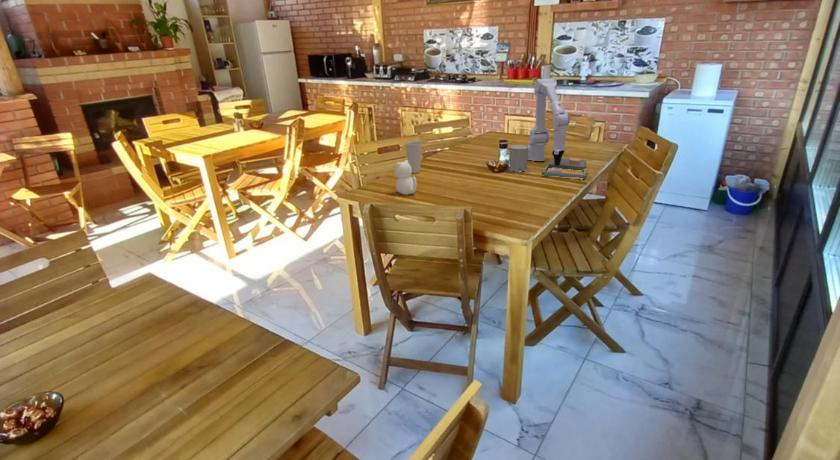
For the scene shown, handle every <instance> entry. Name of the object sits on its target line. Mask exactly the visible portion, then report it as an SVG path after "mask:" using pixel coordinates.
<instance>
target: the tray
mask: <svg viewBox="0 0 840 460" xmlns="http://www.w3.org/2000/svg"><path fill="white" fill-rule="evenodd" d="M548 168H549V164H547V165H546V166H544V168H543V170H542V171H541V176H542V175H544V176H559V177H579V178H584V177H585V178H586V176H585V175H587V174H586V172H588V168H587V167H585V168H584V171H583V175H581V174H569V173H558V172H547V170H548Z"/></svg>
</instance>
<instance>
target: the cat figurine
mask: <svg viewBox="0 0 840 460" xmlns="http://www.w3.org/2000/svg"><path fill="white" fill-rule="evenodd" d="M412 174H413V173H412V168H411V166H410V164H409V163H408V160H407V159H404V161H398V162H396V165H395V167H394V176H395V177H396V178H397V180H396V183H395V189H396V191H397V192H398V194H401V195H406V196H409V195H412V194H414V193H415V192H416V191H417V187H418V186H417V178H416V177H415V176H414V175H413V176H411V175H412Z"/></svg>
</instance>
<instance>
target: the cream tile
mask: <svg viewBox="0 0 840 460" xmlns="http://www.w3.org/2000/svg"><path fill="white" fill-rule="evenodd" d="M562 169H563V168H552V169H551V172H558V173H562Z"/></svg>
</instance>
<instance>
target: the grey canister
mask: <svg viewBox="0 0 840 460" xmlns="http://www.w3.org/2000/svg"><path fill="white" fill-rule="evenodd" d="M527 160H528V145H525V144H511V145H510V146H509V155H508V162H509V161H510V170H512V171H515V172H514V173H520V172H519V171H525V170H527V171H528V161H527ZM525 172H526V171H525Z"/></svg>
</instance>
